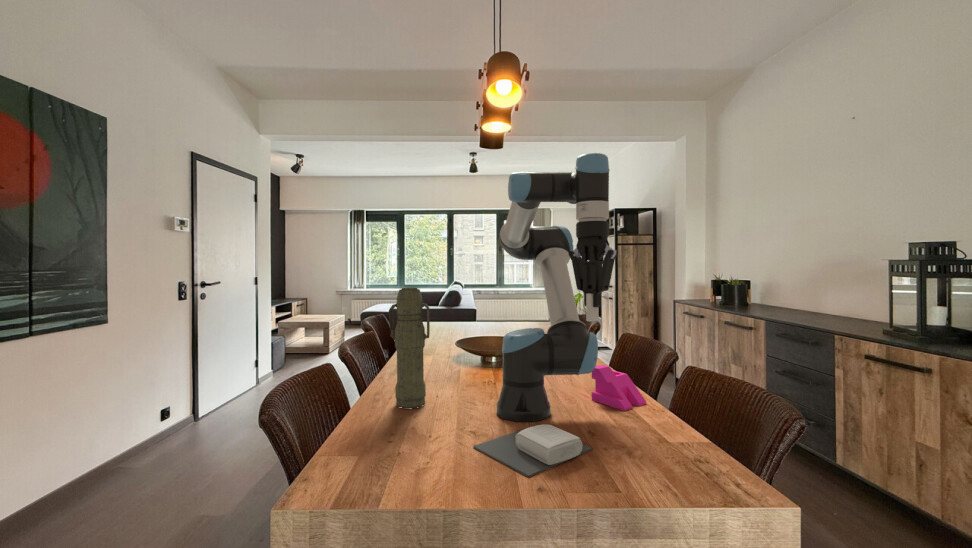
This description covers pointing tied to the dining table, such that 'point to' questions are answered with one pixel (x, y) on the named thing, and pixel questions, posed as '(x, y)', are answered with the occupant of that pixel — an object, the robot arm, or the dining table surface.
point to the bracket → (615, 389)
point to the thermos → (409, 347)
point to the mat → (516, 454)
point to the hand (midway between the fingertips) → (592, 320)
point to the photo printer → (548, 443)
